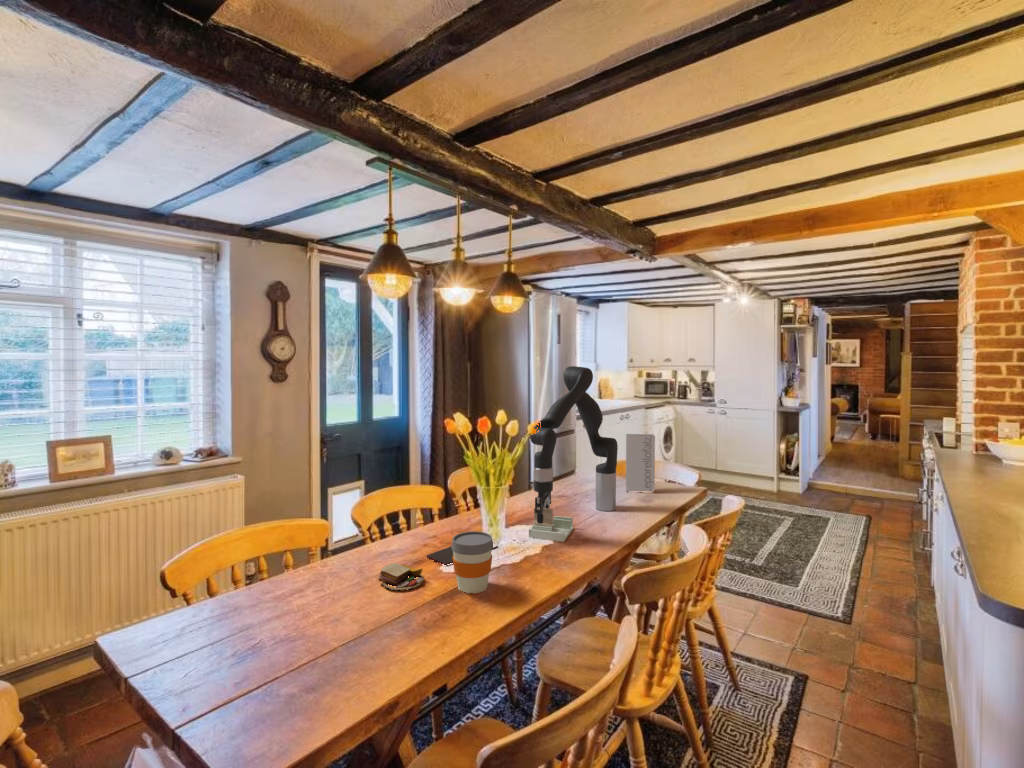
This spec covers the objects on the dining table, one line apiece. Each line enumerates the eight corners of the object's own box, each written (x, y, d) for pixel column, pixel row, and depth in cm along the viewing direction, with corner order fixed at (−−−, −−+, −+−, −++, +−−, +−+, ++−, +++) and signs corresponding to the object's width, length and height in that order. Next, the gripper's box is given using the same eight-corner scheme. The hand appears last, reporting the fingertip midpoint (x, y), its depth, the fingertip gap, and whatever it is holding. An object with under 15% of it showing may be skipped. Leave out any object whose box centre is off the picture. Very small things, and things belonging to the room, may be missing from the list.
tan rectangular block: (535, 532, 196) (535, 507, 196) (552, 534, 194) (552, 508, 193) (534, 533, 194) (534, 508, 194) (551, 535, 192) (551, 510, 192)
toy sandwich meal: (403, 596, 145) (403, 580, 145) (371, 585, 152) (371, 570, 152) (432, 581, 155) (432, 566, 155) (401, 571, 163) (401, 557, 163)
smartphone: (423, 555, 174) (476, 536, 192) (423, 559, 174) (477, 540, 192) (445, 565, 165) (499, 544, 183) (445, 569, 165) (499, 548, 183)
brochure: (626, 492, 259) (626, 435, 257) (625, 489, 264) (626, 433, 263) (654, 493, 256) (654, 436, 255) (653, 490, 262) (653, 434, 260)
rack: (540, 524, 208) (540, 514, 208) (573, 528, 203) (573, 517, 203) (528, 537, 193) (528, 526, 193) (563, 541, 188) (563, 530, 188)
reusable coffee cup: (444, 592, 147) (443, 542, 147) (463, 575, 159) (463, 529, 158) (482, 599, 143) (482, 548, 142) (499, 581, 154) (499, 534, 154)
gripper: (539, 474, 201) (539, 513, 202) (528, 482, 188) (528, 524, 188) (557, 475, 198) (557, 515, 199) (547, 483, 185) (547, 526, 186)
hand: (543, 519), depth 194 cm, fingers open, 8 cm apart
